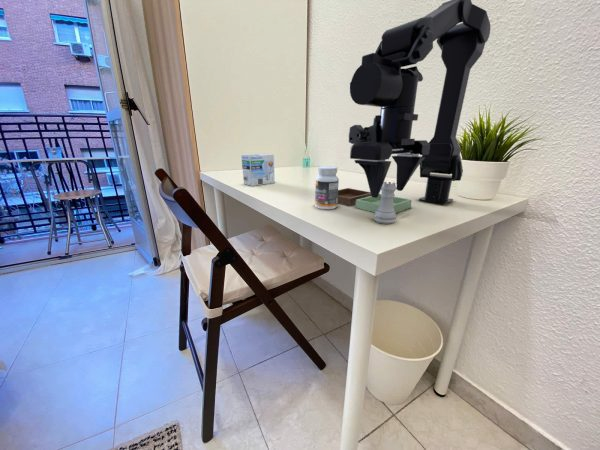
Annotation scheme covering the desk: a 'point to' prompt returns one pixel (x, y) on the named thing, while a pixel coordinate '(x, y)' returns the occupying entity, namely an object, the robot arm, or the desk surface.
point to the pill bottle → (326, 188)
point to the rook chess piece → (386, 205)
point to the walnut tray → (351, 196)
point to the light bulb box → (258, 169)
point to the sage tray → (373, 203)
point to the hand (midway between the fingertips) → (387, 193)
